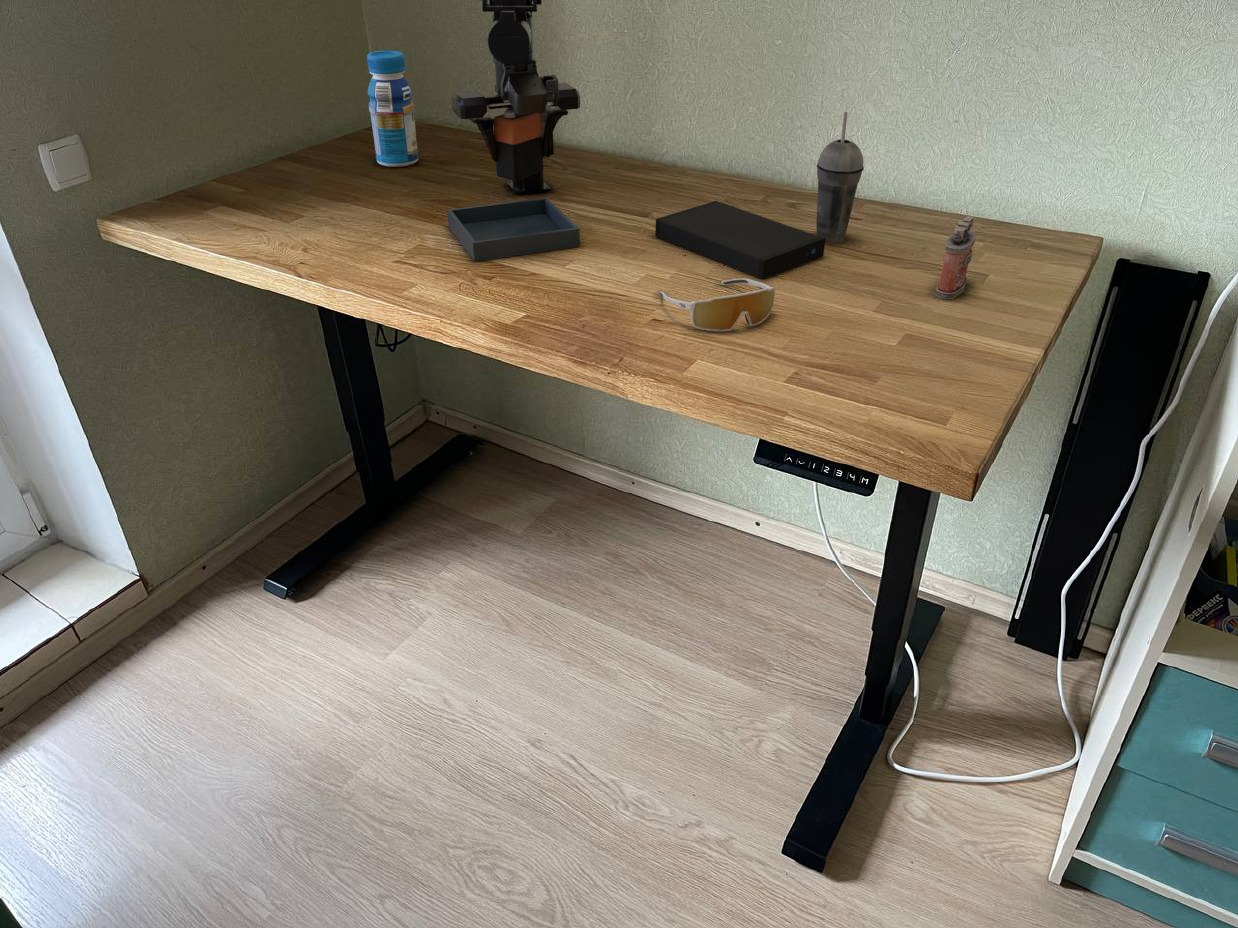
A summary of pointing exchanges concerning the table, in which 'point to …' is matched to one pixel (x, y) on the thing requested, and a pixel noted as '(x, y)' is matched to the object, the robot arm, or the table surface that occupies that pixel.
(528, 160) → the battery
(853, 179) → the beverage cup
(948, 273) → the lighter
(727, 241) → the external hard drive
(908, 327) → the table surface
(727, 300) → the sunglasses
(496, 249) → the tray
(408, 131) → the beverage bottle
